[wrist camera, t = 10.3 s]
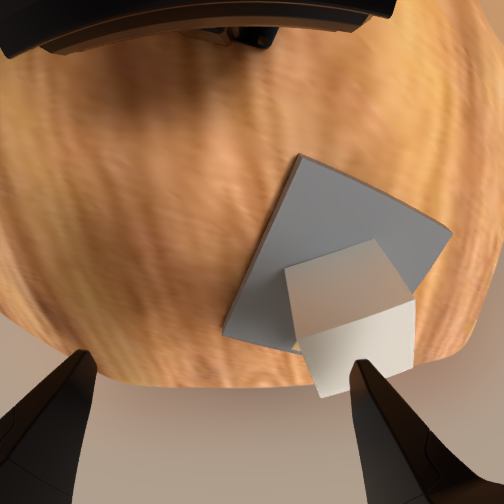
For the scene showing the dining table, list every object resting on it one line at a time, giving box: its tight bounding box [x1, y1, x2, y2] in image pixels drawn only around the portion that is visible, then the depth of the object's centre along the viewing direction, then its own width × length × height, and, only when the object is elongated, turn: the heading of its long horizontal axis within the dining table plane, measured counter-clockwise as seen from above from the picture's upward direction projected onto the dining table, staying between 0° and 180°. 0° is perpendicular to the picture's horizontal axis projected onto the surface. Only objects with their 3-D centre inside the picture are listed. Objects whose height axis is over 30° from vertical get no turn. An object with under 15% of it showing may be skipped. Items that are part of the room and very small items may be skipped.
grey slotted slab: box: [222, 153, 453, 355], centre depth 19 cm, size 14×12×5 cm
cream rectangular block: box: [284, 239, 415, 398], centre depth 18 cm, size 6×10×6 cm, turn 21°
